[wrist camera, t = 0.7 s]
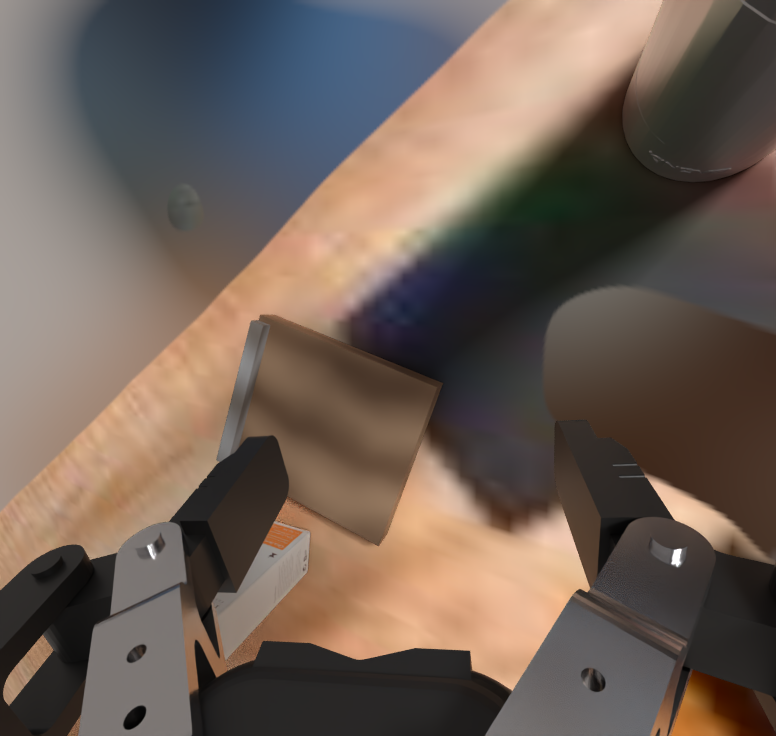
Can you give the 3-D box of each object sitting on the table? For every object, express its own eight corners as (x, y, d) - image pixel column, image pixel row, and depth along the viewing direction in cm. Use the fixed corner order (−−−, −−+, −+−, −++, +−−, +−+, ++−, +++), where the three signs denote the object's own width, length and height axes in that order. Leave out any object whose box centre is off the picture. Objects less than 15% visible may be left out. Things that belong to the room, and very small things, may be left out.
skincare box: (312, 529, 38) (217, 618, 27) (309, 571, 39) (215, 676, 27) (256, 512, 40) (146, 589, 29) (254, 553, 40) (146, 644, 29)
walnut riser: (274, 314, 37) (252, 314, 34) (443, 383, 32) (434, 389, 29) (237, 454, 40) (215, 465, 37) (386, 534, 35) (374, 552, 33)
